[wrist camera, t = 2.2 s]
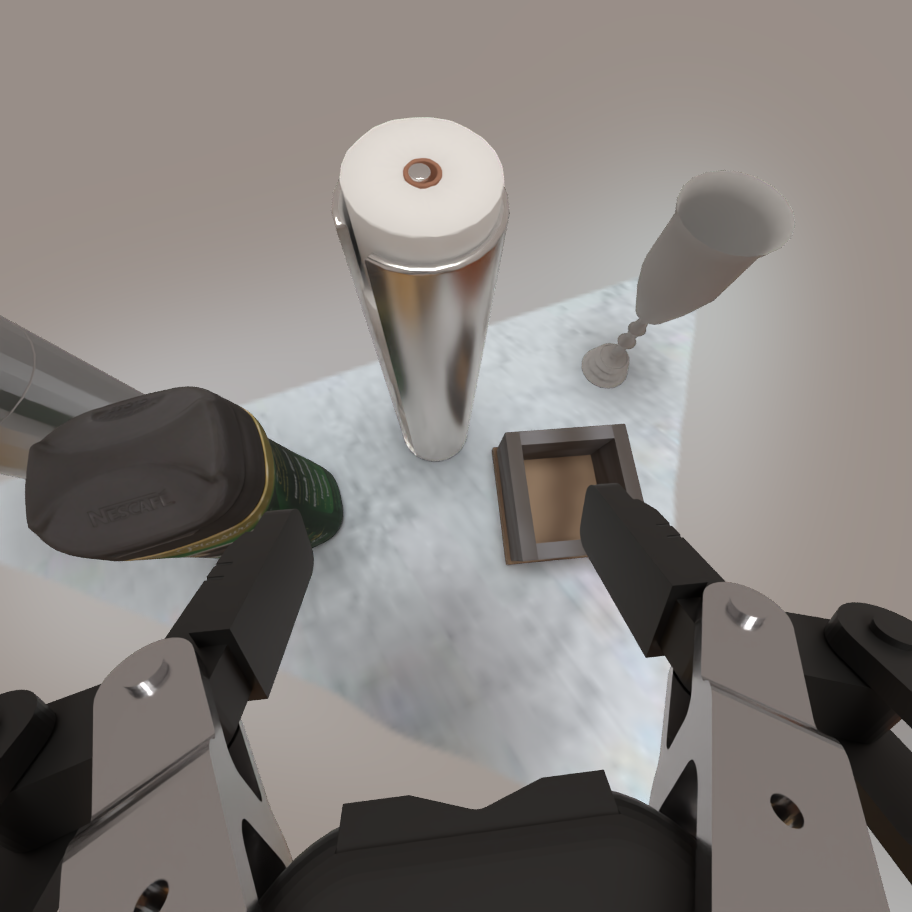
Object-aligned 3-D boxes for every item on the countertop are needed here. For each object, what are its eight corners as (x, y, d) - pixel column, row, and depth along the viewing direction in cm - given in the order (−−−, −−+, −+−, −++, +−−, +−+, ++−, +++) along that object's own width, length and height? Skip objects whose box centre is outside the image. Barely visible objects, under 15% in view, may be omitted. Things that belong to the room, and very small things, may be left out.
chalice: (620, 333, 40) (755, 160, 23) (648, 384, 38) (818, 240, 21) (561, 350, 39) (656, 184, 22) (587, 404, 37) (713, 269, 20)
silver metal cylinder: (399, 406, 36) (314, 111, 12) (461, 398, 37) (494, 99, 13) (407, 466, 35) (327, 258, 11) (472, 456, 35) (535, 236, 11)
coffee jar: (333, 458, 35) (217, 351, 17) (353, 536, 33) (243, 509, 15) (232, 488, 33) (-8, 407, 16) (246, 571, 31) (-13, 587, 14)
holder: (506, 564, 32) (519, 565, 27) (491, 450, 35) (501, 429, 30) (621, 553, 33) (659, 552, 27) (598, 442, 36) (627, 420, 30)
